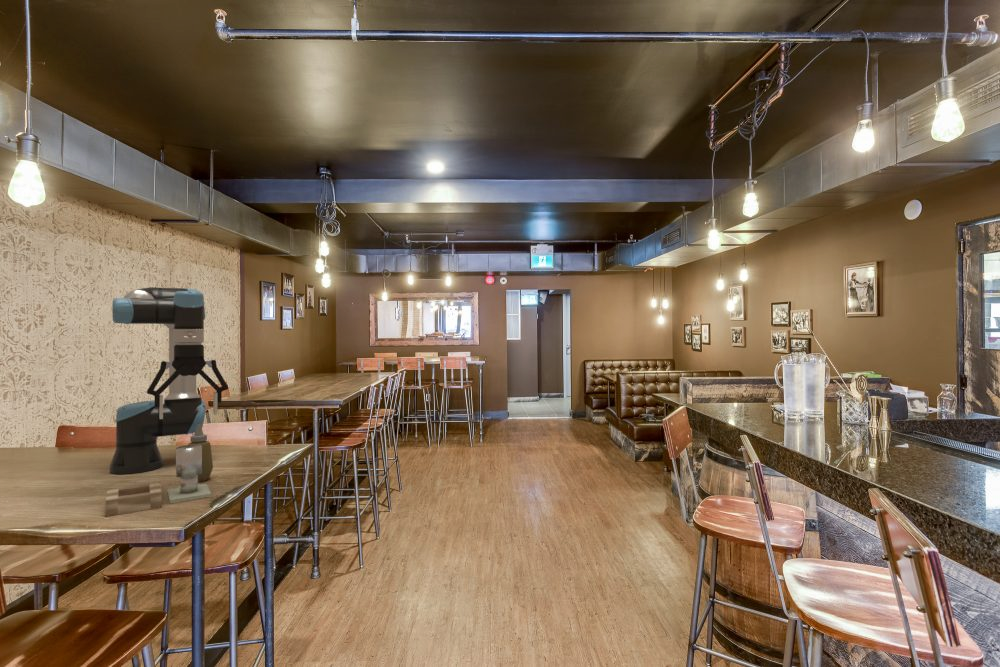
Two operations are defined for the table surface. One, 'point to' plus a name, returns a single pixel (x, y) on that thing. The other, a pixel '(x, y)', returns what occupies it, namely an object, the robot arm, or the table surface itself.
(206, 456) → the squeeze bottle
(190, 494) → the mat
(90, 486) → the table surface
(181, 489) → the metal cylinder
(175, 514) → the table surface
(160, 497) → the bore block
